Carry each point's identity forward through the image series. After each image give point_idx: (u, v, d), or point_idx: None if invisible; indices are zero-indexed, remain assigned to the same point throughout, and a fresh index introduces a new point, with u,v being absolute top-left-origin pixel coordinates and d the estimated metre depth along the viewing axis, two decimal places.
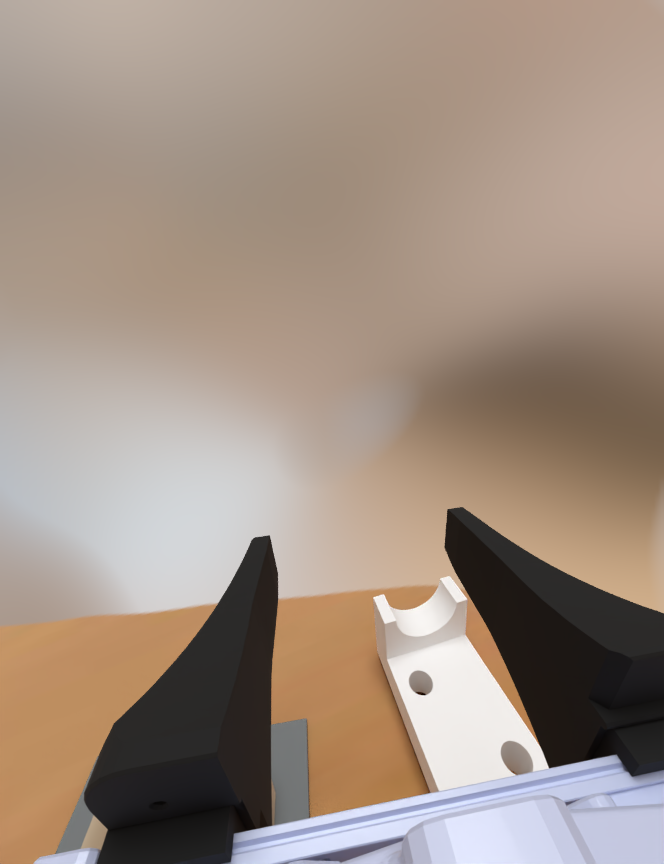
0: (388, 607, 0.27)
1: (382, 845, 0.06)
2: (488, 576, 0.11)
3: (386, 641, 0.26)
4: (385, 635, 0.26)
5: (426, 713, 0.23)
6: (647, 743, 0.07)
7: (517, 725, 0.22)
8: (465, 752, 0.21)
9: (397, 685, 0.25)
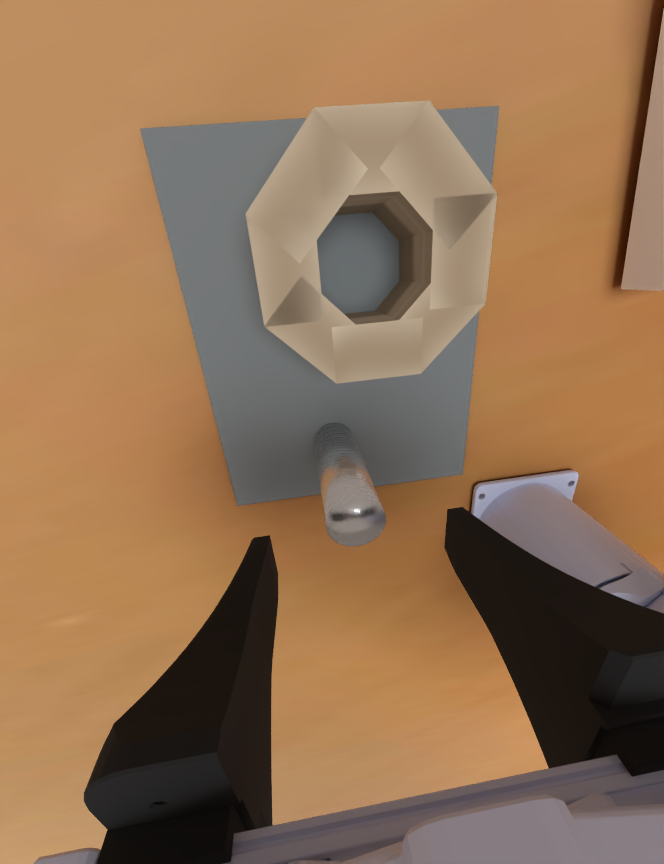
0: None
1: (383, 847, 0.06)
2: (488, 577, 0.11)
3: None
4: None
5: None
6: (647, 743, 0.07)
7: None
8: None
9: None
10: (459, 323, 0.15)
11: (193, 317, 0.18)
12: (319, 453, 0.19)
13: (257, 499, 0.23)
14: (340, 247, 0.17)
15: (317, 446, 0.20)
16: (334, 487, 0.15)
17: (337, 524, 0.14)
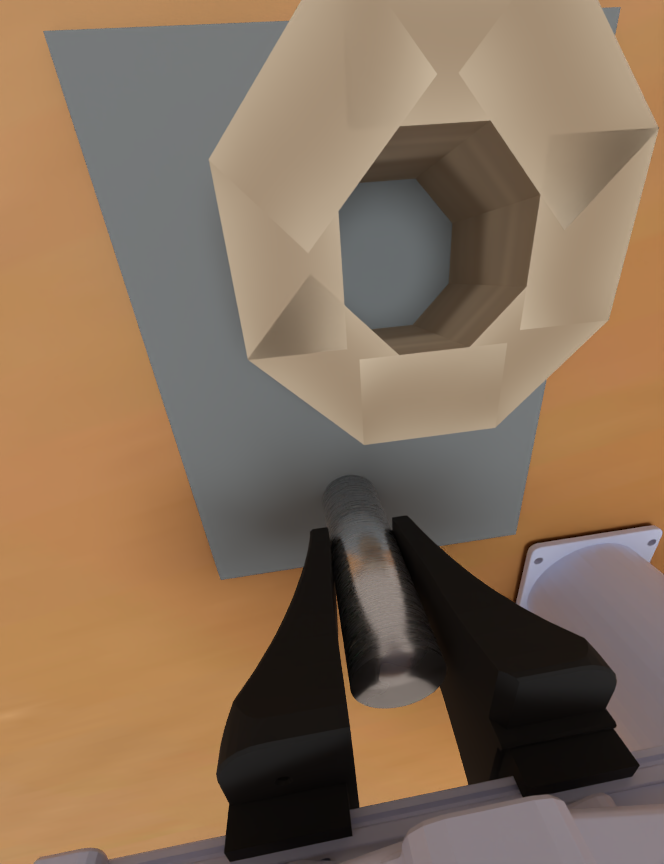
0: None
1: (382, 847, 0.06)
2: (421, 588, 0.11)
3: None
4: None
5: None
6: (540, 765, 0.06)
7: None
8: None
9: None
10: (564, 352, 0.09)
11: (149, 336, 0.12)
12: (332, 528, 0.13)
13: (247, 571, 0.17)
14: (366, 233, 0.11)
15: (328, 513, 0.14)
16: (362, 611, 0.09)
17: (368, 683, 0.09)
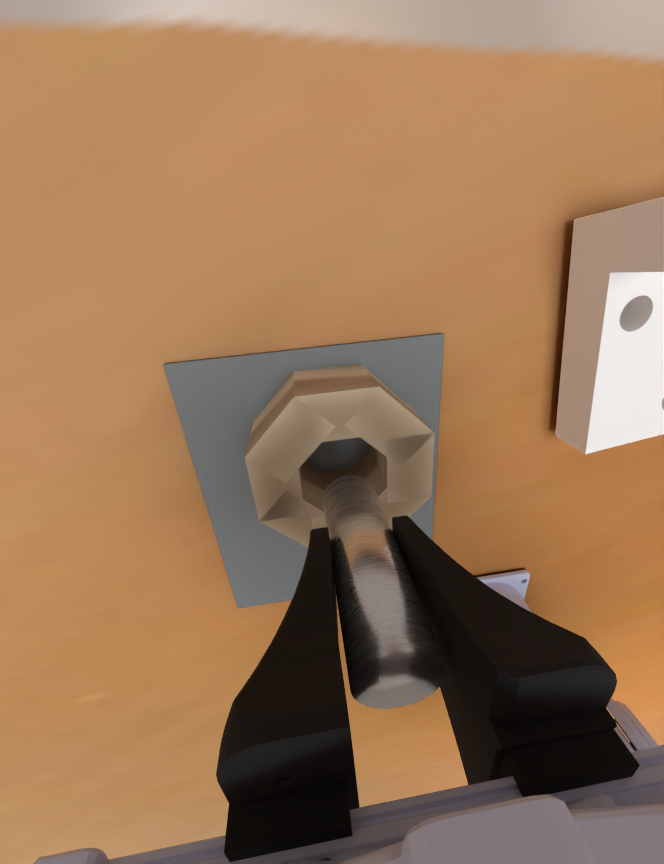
0: None
1: (383, 846, 0.06)
2: (421, 587, 0.11)
3: (652, 271, 0.14)
4: None
5: (619, 353, 0.18)
6: (540, 765, 0.06)
7: None
8: (634, 392, 0.19)
9: (603, 315, 0.17)
10: (411, 510, 0.19)
11: (202, 481, 0.22)
12: (332, 528, 0.13)
13: (255, 603, 0.27)
14: None
15: (328, 513, 0.14)
16: (362, 611, 0.09)
17: (368, 684, 0.09)
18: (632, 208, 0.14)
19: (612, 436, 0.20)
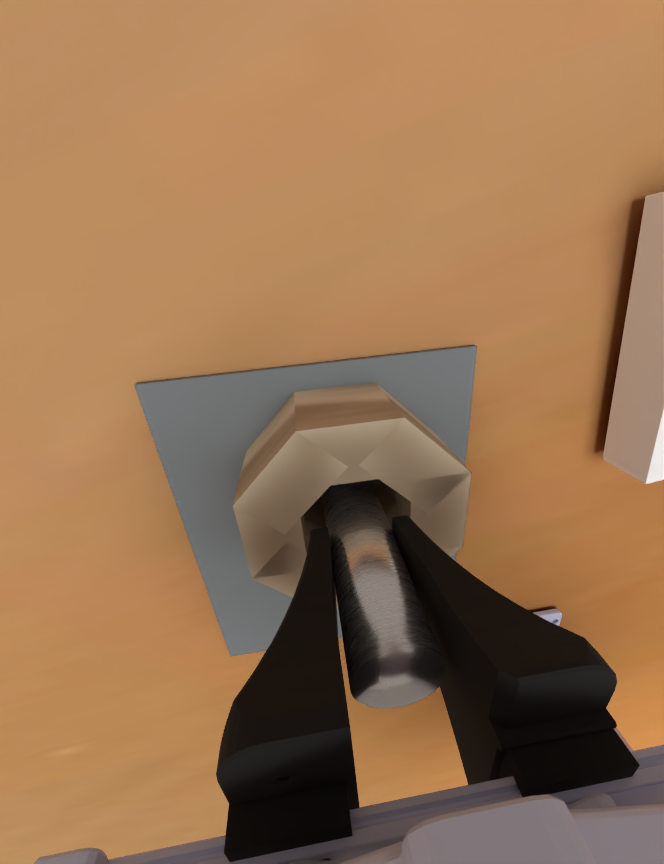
0: None
1: (383, 847, 0.06)
2: (421, 587, 0.11)
3: None
4: None
5: None
6: (540, 765, 0.06)
7: None
8: None
9: None
10: None
11: (186, 519, 0.18)
12: (332, 528, 0.13)
13: (250, 650, 0.23)
14: None
15: (328, 513, 0.14)
16: (361, 611, 0.09)
17: (368, 683, 0.09)
18: None
19: None
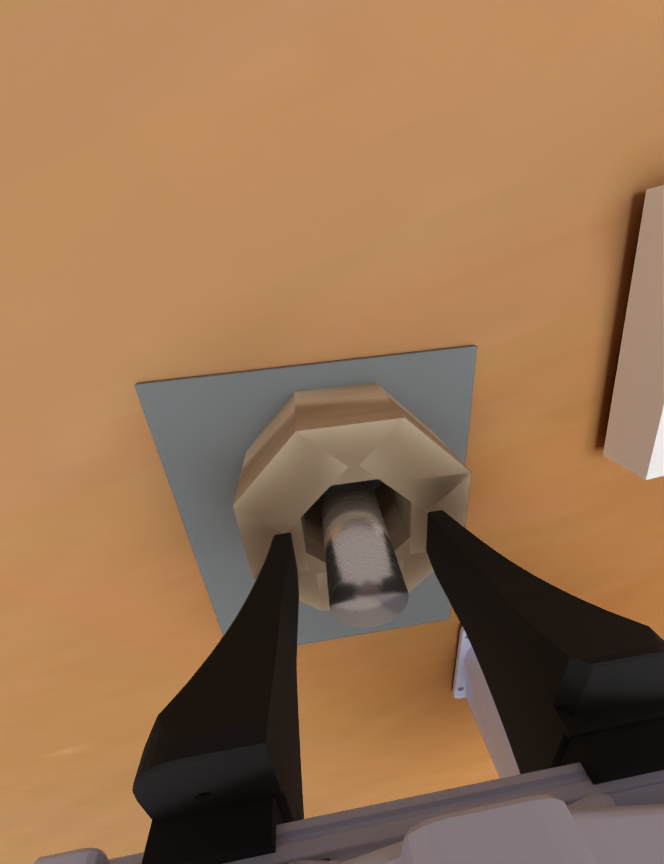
0: None
1: (383, 847, 0.06)
2: (464, 580, 0.11)
3: None
4: None
5: None
6: (609, 751, 0.07)
7: None
8: None
9: None
10: None
11: (186, 519, 0.18)
12: (324, 492, 0.15)
13: None
14: None
15: None
16: (341, 549, 0.12)
17: (344, 603, 0.11)
18: None
19: None
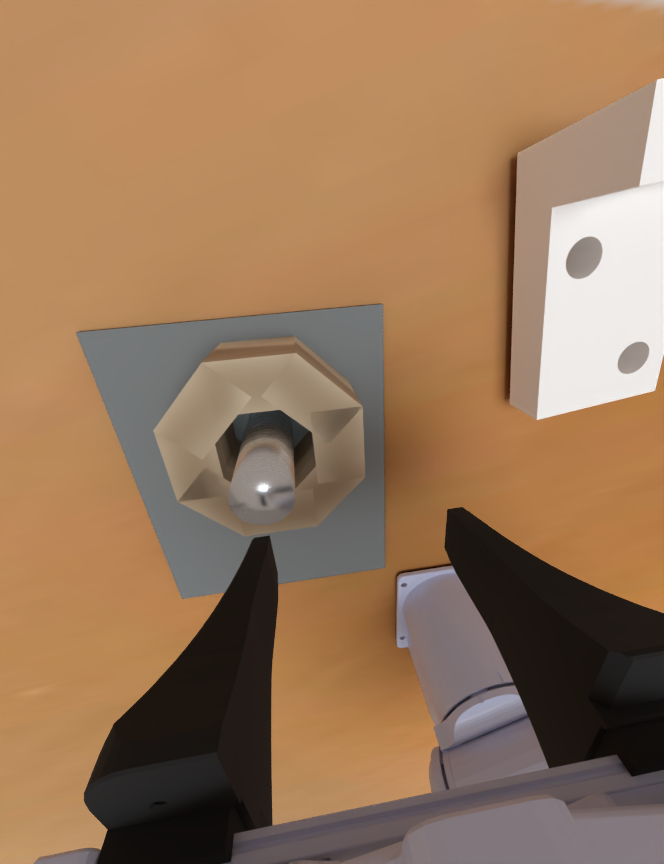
0: None
1: (383, 846, 0.06)
2: (488, 576, 0.11)
3: (591, 197, 0.13)
4: (604, 192, 0.12)
5: (568, 304, 0.16)
6: (647, 743, 0.07)
7: (661, 326, 0.18)
8: (586, 350, 0.18)
9: (548, 258, 0.15)
10: (345, 491, 0.18)
11: (132, 461, 0.20)
12: None
13: (200, 593, 0.26)
14: None
15: (247, 423, 0.18)
16: (242, 460, 0.14)
17: (240, 499, 0.13)
18: (570, 126, 0.13)
19: (565, 400, 0.19)
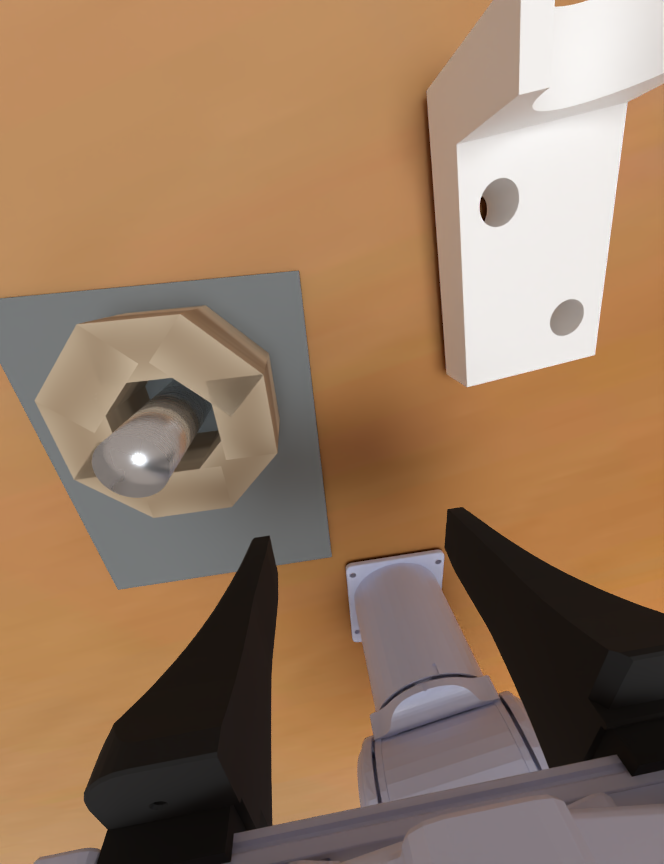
0: (549, 26, 0.09)
1: (382, 846, 0.06)
2: (488, 577, 0.11)
3: (485, 121, 0.11)
4: (493, 112, 0.11)
5: (487, 256, 0.15)
6: (647, 743, 0.07)
7: (594, 281, 0.16)
8: (513, 308, 0.16)
9: (459, 203, 0.14)
10: (257, 469, 0.17)
11: (46, 442, 0.19)
12: None
13: (136, 583, 0.25)
14: None
15: None
16: (117, 428, 0.13)
17: (107, 469, 0.12)
18: (461, 45, 0.12)
19: (496, 365, 0.17)
